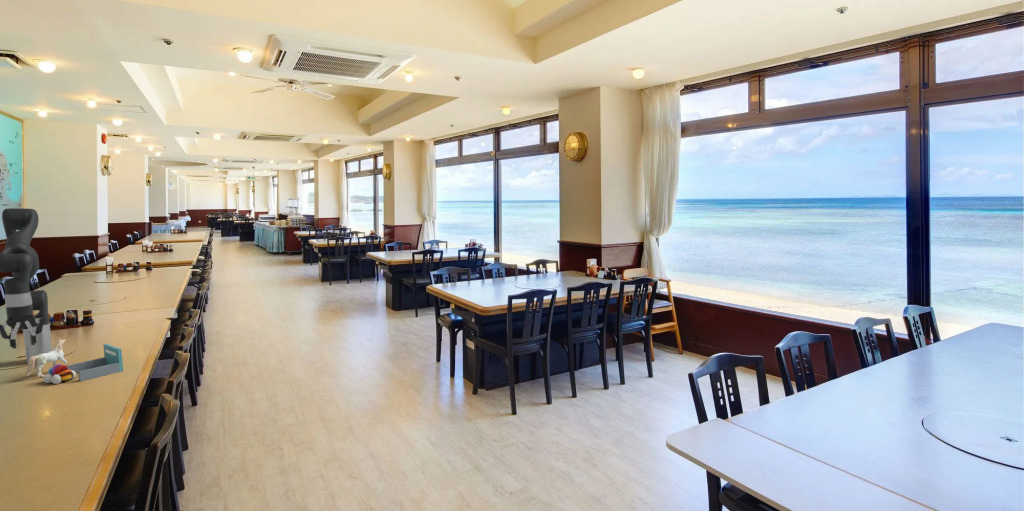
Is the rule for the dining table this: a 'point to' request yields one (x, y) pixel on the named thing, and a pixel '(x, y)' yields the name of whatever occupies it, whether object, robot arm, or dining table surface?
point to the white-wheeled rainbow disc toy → (59, 374)
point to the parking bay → (100, 364)
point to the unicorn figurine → (46, 359)
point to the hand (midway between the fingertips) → (23, 346)
